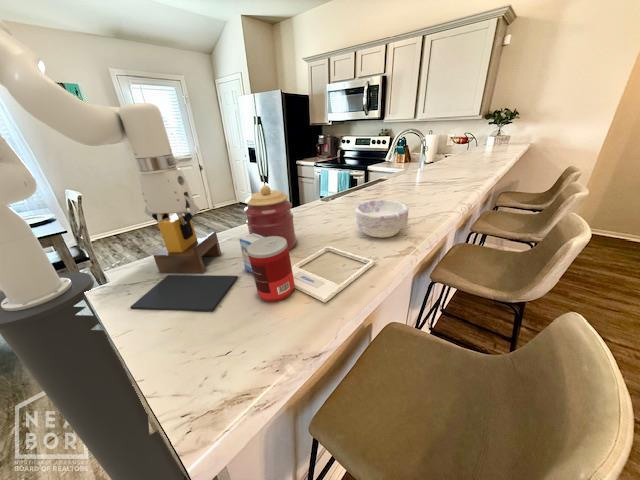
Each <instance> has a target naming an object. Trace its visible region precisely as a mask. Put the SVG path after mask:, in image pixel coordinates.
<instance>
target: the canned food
mask: <svg viewBox="0 0 640 480" xmlns="http://www.w3.org/2000/svg"><path fill="white" fill-rule="evenodd" d="M247 251H248V256H249V260H250V264H251V268H252V272H253V273H252V275H253V279H254V284H255V287H256V291H257V294H258V296H259V297H260V298H261V300H263V301H266V302H279V301H282V300H284V299H286V298H288V297H289V296H290V295H291V294H292V293H293V291H294V289H295V288H294V279H293V273H292V267H291V266H292V262H291V256H290V250H289V249H288V244H287V241H286V239H285V238H283V237H279V236H270V237H264V238H261V239H258V240H256V241H254V242H253V243H251V244H250V245H249V246H248V248H247Z"/></svg>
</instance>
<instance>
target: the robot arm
mask: <svg viewBox="0 0 640 480" xmlns="http://www.w3.org/2000/svg"><path fill="white" fill-rule="evenodd" d="M0 85H1V86H3V87H4V88H5V89H6V90H7V91H8V93H9V94H10V96H11V97H12V98H13V99H14V100H15V101H16V103H17V104H18V105H20V106H21V107H22V109H24V111H26V112H27V113H28V114H29V115H31V116H32V117H33V118H35V119H36V120H38V121H39V122H41V123H42V124H45V125H46V126H47V127H49V128H51V129H52V130H54V131H55V132H57V133H59V134H61V135H62V136H64V137H66V138H68V139H70V140H72V141H73V142H76V143H79V144H82V145H84V146H90V147H99V146H100V147H101V146H107V145H115V144H122V143H127V142H128V143H129V145H130V148H131V151H132V154H133V157H134V160H135V162H136V166H137V168H138V171H139V172H138V174H137V175H138V183H139V187H140V191H141V194H142V195H141V196H142V198H143V201H144V204H145V208H144V213H145V214H146V215H147V216H149V217H150V218H151V217H152V219H154V220H155V221H157V223H158V222H160V221H162V220H164V219H165V218H167V217H169V216H170V214H175V213H176V214H177V216H178V218H179V220H180V222H181V225H180V228H181V231H182V234H183V237H184V239H185V240H187V239H188V238H190V237H191V236H193V230H192V227H191V223H190V221H191V220H192V219H193V218H194V216H195V215H196V214H197V213H198V212H199V211H200V207H198V206H197V204H196V203H195V200H194V197H193V193H192V191H191V188H190V186H189V183H188V180H187V178H186V176H185V174H184V173H183V170H182V169H181V168H180V167H178V166H177V165H179V163H180V159H179V158H178V157H175V156H174V154H173V150H172V147H171V143H170V140H169V137H168V133H167V129H166V127H165V122H164V120H163V116H162V113H161V110H160V108H159V107H158V106H157V105H156V104H154V103H150V102H149V103H148V102H135V103H134V102H133V103H125V104H122V105H120V106H110V105H102V104H95V103H88V102H85V101H84V100H82V99H81V98H79V97H77V96H76V95H74V94H73V93H71V92H70V91H69V90H67V89H65V88H64V87H62V86H61V85H59V84H58V83H57V82H56V81H54V80H53V79H51V78H50V77H49V76H48V75H47V74H46V73H45V64H44V61H43V58H42V57H41V56H40V55H39V54H38V53H37V52H36V51H34V50H33V49H32V48H30V47H28V46H27V45H26V44H24V43H22V42H21V41H20V40H19V39H17V38H15V37H14V36H13V34H12V32H11V30H10V28H9V27H8V25H7V24H6V23H5V22H4V21H3V20H2V19H1V18H0ZM37 185H38V184H37V180H36V178H35V176H34V174H33V173H32V171H31V170H30V168H29V167H28V166H27V165H26V164H25V162H24V161H23V160H22V158H21V157H20V156H19V154H18V153H17V152H16V151H15V150H14V148H13V147H12V146H11V145H10V143H9V142H8V141H7V139H5V137H4V136H3V135H2V134H1V133H0V292H2V293H3V295H6V298H5V299H4V300H3V301H2V303H1V307H2V308H3V309H4V310H6V311H19V310H24V309H28V308H31V307H35V306H38V305H40V304H43V303H46V302H48V301H50V300H52V299H54V298H56V297H58V296H60V295H61V294H63V293H64V292H66V291H67V290H68V289H69V288H70V287H71V285H72V282H71V281H70V279H68V278H59V276H58V275H59V274H58V273H57V270H56V269H55V267H54V265H53V263H52V262H51V260H50V259H49V256H48V255H47V253H46V251H45V249H44V248H43V246H42V245H41V243H40V241H39V239H38V237H37V236H36V234H35V232H34V231H33V229H32V227H31V225H30V224H29V222H28V221H27V220H26V219H25V218H24V217H23V216H22V215H21V214H19V213H18V212H17V211H15V210H14V209H13V208H11V207H10V206H9V205H13V204H16V203H19V202H22V201H24V200H28V199H29V198H31V197H33V195H35V193H36V191H37V187H38V186H37ZM188 209H189V210H188ZM183 214H184V215H183ZM184 216H185V217H184ZM192 221H193V220H192Z"/></svg>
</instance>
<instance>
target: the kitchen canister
mask: <svg viewBox="0 0 640 480" xmlns="http://www.w3.org/2000/svg"><path fill="white" fill-rule="evenodd" d="M288 198H289V196H288V194H286V193H284V192H282V191H281V190H276V189H275V190H273V189H272V190H271V187H270V186H269V185H262V186H261V187H260V191H258V192H254V193H252V194H250V196H249V197H247V198H246V200H245V204H246V205H247V206H245V207H244V209H243V212H244V214H245V215H246V218H247V219H246V221H245V222H246V226H247V229H248V230H247V231H248V235H249V234H252V233H255V234H258V235H261V236H263V237H270V236H279V237H283V238H285V239H286V241H287V244H288V249H289V251H290V250H292V249H293V248H294V247H295V246H296V242H297V234H296V230H295V224H294V214H293V213H292V210H291V209H292V206H293V204H292V202H291V201H289V200H288Z"/></svg>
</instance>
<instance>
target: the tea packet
mask: <svg viewBox="0 0 640 480" xmlns="http://www.w3.org/2000/svg"><path fill="white" fill-rule="evenodd" d="M183 215H184V214H183ZM184 217H185V216H184ZM190 223H191V227H192V230H193V236H191V237H190V238H188V239H187V240H185V239H184V237H183V234H182V231H181V228H180V225H181V222H180V220H179V218H178V216H177V214H176V213H172V214H171V215H169V217H167V218H165V219H164V220H162V221H160V222H158V221H157V226H158V229H159V232H160V235H161V238H162V240H163V242H164V247H166V248H167V251H168V252H183V251H185V250H186V249H187V248H188V247H190V246H191V245H192V244H194V243H195V242H196V241H197V233H196V230H195V227H194V224H193V220H191V221H190Z"/></svg>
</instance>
